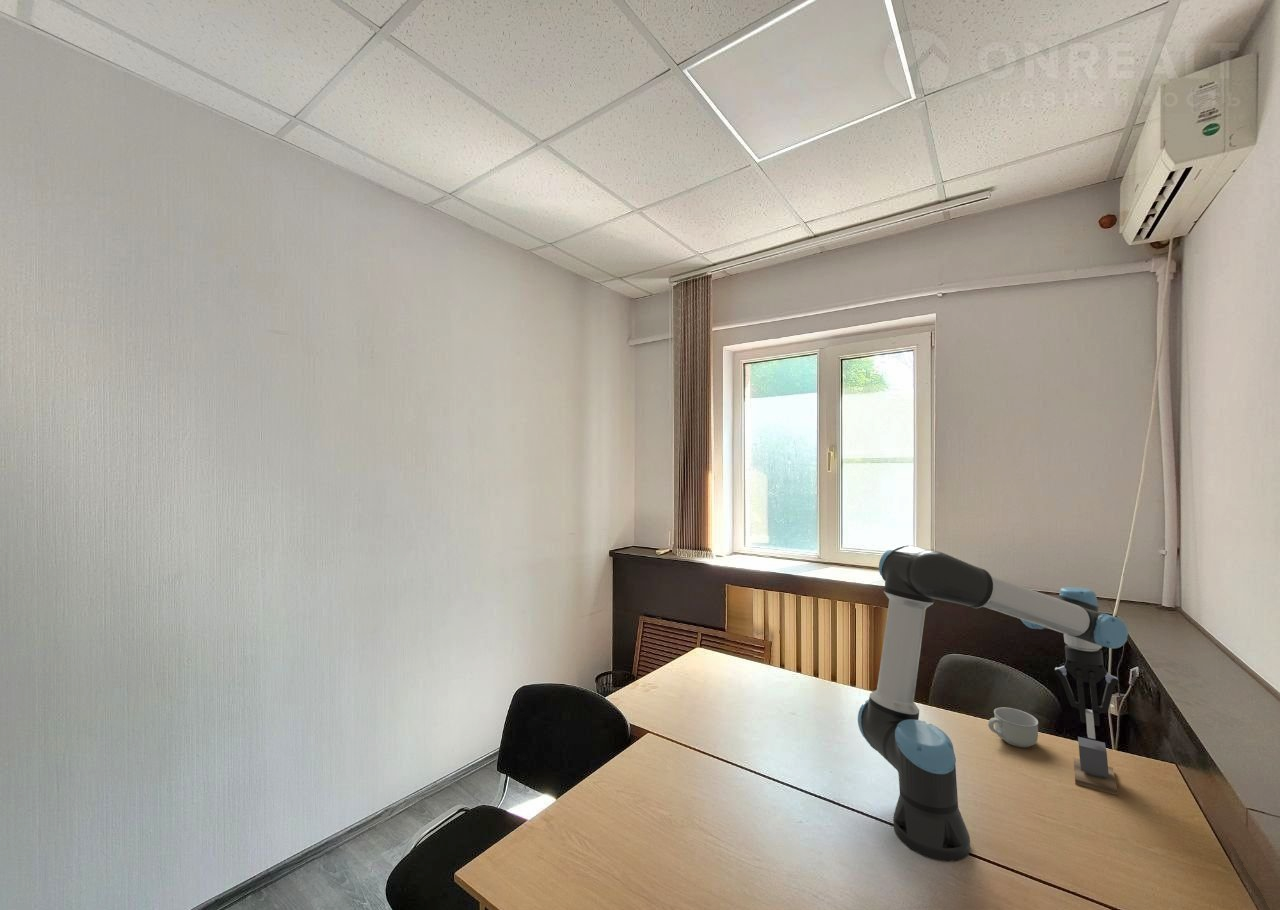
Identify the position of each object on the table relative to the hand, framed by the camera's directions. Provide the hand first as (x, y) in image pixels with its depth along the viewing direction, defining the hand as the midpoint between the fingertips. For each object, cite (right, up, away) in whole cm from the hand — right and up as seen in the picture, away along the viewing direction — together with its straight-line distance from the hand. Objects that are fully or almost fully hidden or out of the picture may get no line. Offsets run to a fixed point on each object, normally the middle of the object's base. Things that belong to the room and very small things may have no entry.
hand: (1091, 736), depth 130 cm
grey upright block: (0, -9, -1) cm, 9 cm away
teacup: (-8, -12, +18) cm, 23 cm away
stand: (0, -11, -1) cm, 11 cm away
